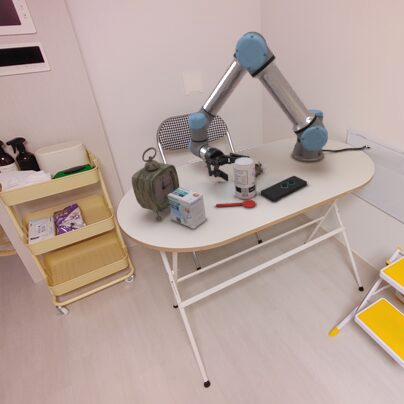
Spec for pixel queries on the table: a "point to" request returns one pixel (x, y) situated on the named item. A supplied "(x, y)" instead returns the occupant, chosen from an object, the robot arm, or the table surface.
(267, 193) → the smart home device
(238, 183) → the supplement can
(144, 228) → the table surface
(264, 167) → the eagle figurine
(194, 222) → the light bulb box
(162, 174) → the tabletop clock
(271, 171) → the table surface
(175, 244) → the table surface
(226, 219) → the table surface
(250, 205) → the red spoon
